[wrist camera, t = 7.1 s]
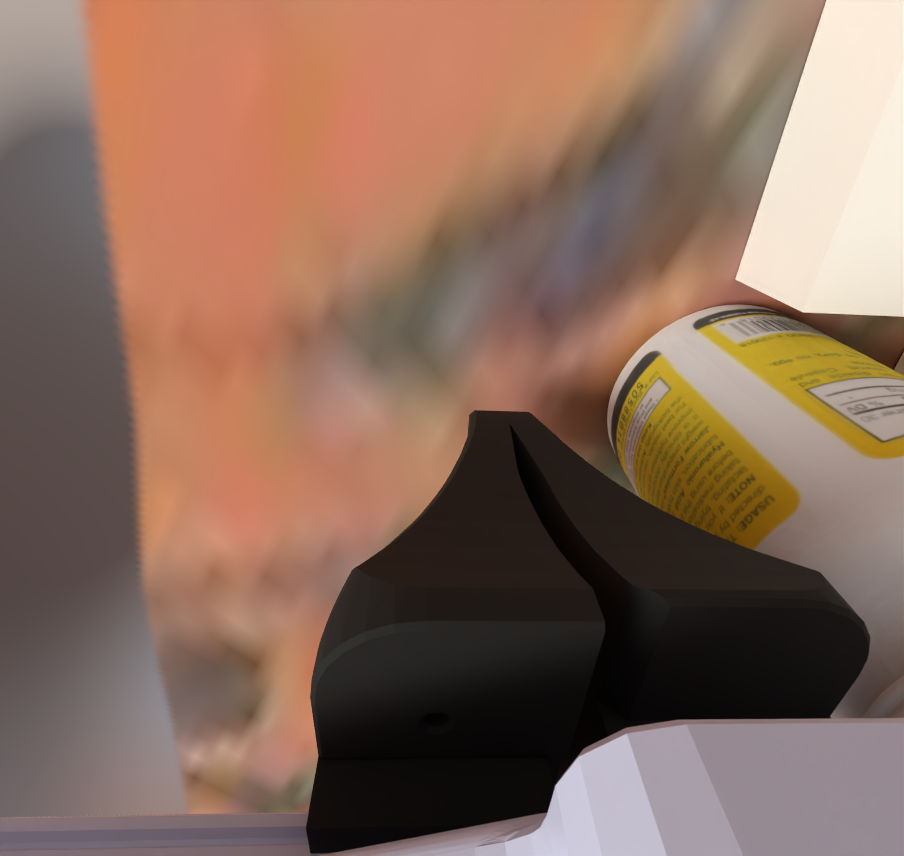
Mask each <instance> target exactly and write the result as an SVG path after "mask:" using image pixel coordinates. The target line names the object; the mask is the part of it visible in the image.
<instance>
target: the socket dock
mask: <svg viewBox="0 0 904 856" xmlns="http://www.w3.org/2000/svg"><path fill="white" fill-rule="evenodd" d="M735 280H737V281H740V282H742V283H744V284H746V285H748V286H750V287H752V288H754V289H756V290H758V291H760V292H762V293H764V294H766V295H768V296H770V297H772V298H774V299H776V300H778V301H780V302H783V303H785V304H787V305H789V306H791V307H793V308H795V309H797V310H799V311H801V312H805V313H829V314H853V315H878V316H902V317H904V0H826V3H825V6H824V9H823V13H822V16H821V19H820V22H819V25H818V28H817V31H816V34H815V37H814V40H813V43H812V46H811V49H810V52H809V55H808V58H807V61H806V65H805V68H804V71H803V74H802V77H801V80H800V83H799V86H798V89H797V92H796V95H795V98H794V101H793V104H792V107H791V110H790V114H789V117H788V120H787V123H786V126H785V129H784V132H783V135H782V138H781V141H780V144H779V147H778V150H777V153H776V156H775V159H774V162H773V166H772V169H771V172H770V175H769V178H768V181H767V184H766V187H765V190H764V193H763V196H762V199H761V202H760V205H759V208H758V211H757V214H756V218H755V221H754V224H753V227H752V230H751V233H750V236H749V239H748V242H747V245H746V248H745V251H744V254H743V257H742V260H741V263H740V267H739V270H738V273H737V276H736V279H735ZM894 371H896V372H898V373H900V374H902V375H904V352H903V354H902V356H901V358H900V360H899V361H898V363H897V365H896V367H895V369H894Z"/></svg>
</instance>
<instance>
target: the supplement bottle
mask: <svg viewBox="0 0 904 856" xmlns="http://www.w3.org/2000/svg"><path fill="white" fill-rule="evenodd" d="M607 427H608V434H609V439H610V442H611V445H612V448H613V450H614V452H615V455H616V457H617V459H618V461H619V463H620V465H621V467H622V469H623V470H624V472H625V474H626V476H627V477H628V479H629V481H630V483H631V484H632V486H633V488H634V490H635V491H636V493H637V495H638V497H639V498H641V499H643V500H644V501H646V502H648V503H650V504H652V505H653V506H655V507H657V508H659V509H661V510H663V511H665V512H667V513H669V514H671V515H673V516H675V517H677V518H679V519H681V520H683V521H685V522H687V523H689V524H691V525H693V526H696V527H698V528H700V529H702V530H705V531H707V532H709V533H711V534H714V535H716V536H719V537H721V538H724V539H726V540H729V541H731V542H734V543H736V544H739V545H741V546H744V547H746V548H749V549H752V550H755V551H758V552H761V553H764V554H767V555H770V556H773V557H776V558H779V559H782V560H785V561H788V562H791V563H794V564H797V565H800V566H803V567H806V568H810V569H813V570H816V571H819V572H820V573H821V574H822V575H823V576H824V577H825V578H826V579H827V580H828V582H829V583H830V584H831V585H832V586H833V587H834V588H835V589H836V591H837V592H838V593H839V594H840V595H841V596H842V597H843V598H844V600H845V601H846V602H847V603H848V604H849V605H850V606H851V608H852V609H853V610H854V611H855V612H856V613H857V614H858V615H859V617H860V618H861V619H862V620H863V621H864V622H865V625H866V627H867V630H868V632H869V635H870V637H871V638H870V648H869V656H868V659H867V661H866V663H865V665H864V667H863V669H862V671H861V673H860V675H859V676H858V678H857V679H856V681H855V682H854V683H853V685H852V686H851V688H850V689H849V690H848V692H847V693H846V695H845V696H844V698H843V699H842V700H841V702H840V703H839V705H838V706H837V707H836V709H835V710H834V712H833V713H832V714H831V716H830V717H831V718H832V719H843V718H904V375H902V374H900V373H898V372H896V371H894V370H892V369H890V368H889V367H887V366H885V365H883V364H881V363H879V362H877V361H875V360H873V359H872V358H870V357H868V356H866V355H864V354H862V353H860V352H858V351H856V350H854V349H852V348H850V347H848V346H846V345H844V344H842V343H840V342H838V341H837V340H835V339H833V338H831V337H829V336H827V335H825V334H823V333H821V332H820V331H818V330H816V329H814V328H811V327H809V326H807V325H806V324H804V323H802V322H800V321H799V320H797V319H794V318H792V317H790V316H787V315H784V314H782V313H780V312H777V311H775V310H771V309H768V308H764V307H760V306H753V305H723V306H716V307H711V308H708V309H704V310H701V311H698V312H695V313H692V314H689V315H687V316H685V317H683V318H681V319H679V320H676V321H675V322H673V323H671V324H670V325H668V326H666V327H665V328H663V329H662V330H660V331H659V332H658V333H656V334H655V335H654V336H652V337H651V338H650V339H649V340H648V341H646V342H645V343H644V344H643V345H642V346H641V347H640V348H639V349H638V350H637V351H636V353H635V354H634V355H633V356H632V357H631V359H630V360H629V361H628V363H627V364H626V366H625V367H624V369H623V370H622V372H621V373H620V375H619V377H618V379H617V381H616V383H615V385H614V388H613V390H612V393H611V396H610V400H609V406H608V412H607Z"/></svg>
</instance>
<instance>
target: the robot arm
mask: <svg viewBox="0 0 904 856" xmlns="http://www.w3.org/2000/svg"><path fill="white" fill-rule="evenodd" d="M870 638H871V637H870V635H869V632H868V630H867V627H866V625H865V622H864V621H863V620H862V619H861V618H860V617H859V615H858V614H857V613H856V612H855V611H854V610H853V609H852V608H851V606H850V605H849V604H848V603H847V602H846V601H845V600H844V598H843V597H842V596H841V595H840V594H839V593H838V592H837V591H836V589H835V588H834V587H833V586H832V585H831V584H830V583H829V582H828V580H827V579H826V578H825V577H824V576H823V575H822V574H821V573H820V572H819V571H816V570H813V569H810V568H806V567H803V566H800V565H797V564H794V563H791V562H788V561H785V560H782V559H779V558H776V557H773V556H770V555H767V554H764V553H761V552H758V551H755V550H752V549H749V548H746V547H744V546H741V545H739V544H736V543H734V542H731V541H729V540H726V539H724V538H721V537H719V536H716V535H714V534H711V533H709V532H707V531H705V530H702V529H700V528H698V527H696V526H693V525H691V524H689V523H687V522H685V521H683V520H681V519H679V518H677V517H675V516H673V515H671V514H669V513H667V512H665V511H663V510H661V509H659V508H657V507H655V506H653V505H652V504H650V503H648V502H646V501H644V500H643V499H641V498H639V497H638V496H636V495H635V494H633V493H631V492H630V491H628V490H626V489H625V488H623V487H621V486H620V485H618V484H617V483H615V482H614V481H612V480H611V479H609V478H608V477H607V476H605V475H604V474H603V473H601V472H600V471H598V470H597V469H596V468H594V467H593V466H592V465H590V464H589V463H588V462H586V461H585V460H584V459H583V458H581V457H580V456H579V455H578V454H576V453H575V452H574V451H573V450H572V449H570V448H569V447H568V446H567V445H566V444H565V443H563V442H562V441H561V440H560V439H559V438H558V437H557V436H556V435H554V434H553V433H552V432H551V431H550V430H549V429H548V428H547V427H546V426H544V425H543V424H542V423H541V422H540V421H539V420H538V419H537V418H535V417H534V416H533V415H532V414H531V413H529V412H512V411H477V410H475V411H474V412H472V413H471V414H470V415H469V427H468V437H467V440H466V442H465V445H464V447H463V450H462V453H461V455H460V457H459V459H458V461H457V463H456V465H455V466H454V468H453V470H452V472H451V474H450V476H449V477H448V479H447V481H446V482H445V484H444V485H443V487H442V488H441V489H440V491H439V492H438V494H437V495H436V496H435V498H434V499H433V500H432V501H431V503H430V504H429V505H428V506H427V507H426V509H425V510H424V511H423V512H422V513H421V515H420V516H419V517H418V518H417V519H416V520H415V521H414V522H413V523H412V524H411V525H410V526H409V527H408V528H406V529H405V530H404V531H403V532H402V533H401V534H400V535H399V536H398V537H397V538H395V539H394V540H393V541H392V542H391V543H390V544H389V545H387V546H386V547H385V548H384V549H382V550H381V551H379V552H378V553H377V554H375V555H374V556H372V557H371V558H370V559H368V560H367V561H365V562H364V563H362V564H361V565H359V566H357V567H356V568H354V569H353V570H352V571H351V573H350V575H349V577H348V579H347V581H346V583H345V584H344V586H343V588H342V590H341V592H340V594H339V596H338V598H337V600H336V603H335V605H334V607H333V609H332V611H331V614H330V616H329V619H328V621H327V624H326V627H325V629H324V632H323V635H322V638H321V641H320V644H319V648H318V652H317V657H316V662H315V666H314V671H313V676H312V683H311V695H310V698H311V706H312V713H313V720H314V727H315V734H316V741H317V748H318V755H319V757H318V762H317V768H316V774H315V779H314V785H313V790H312V796H311V802H310V807H309V812H293V813H234V814H175V815H120V816H119V815H116V816H60V817H59V816H58V817H2V818H1V817H0V856H904V718H843V719H832V718H831V717H830V716H831V714H832V713H833V712H834V710H835V709H836V707H837V706H838V705H839V703H840V702H841V700H842V699H843V698H844V696H845V695H846V693H847V692H848V690H849V689H850V688H851V686H852V685H853V683H854V682H855V681H856V679H857V678H858V676H859V675H860V673H861V671H862V669H863V667H864V665H865V663H866V661H867V659H868V656H869V648H870Z"/></svg>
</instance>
